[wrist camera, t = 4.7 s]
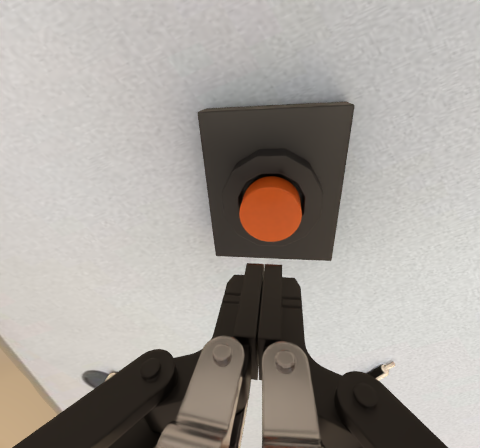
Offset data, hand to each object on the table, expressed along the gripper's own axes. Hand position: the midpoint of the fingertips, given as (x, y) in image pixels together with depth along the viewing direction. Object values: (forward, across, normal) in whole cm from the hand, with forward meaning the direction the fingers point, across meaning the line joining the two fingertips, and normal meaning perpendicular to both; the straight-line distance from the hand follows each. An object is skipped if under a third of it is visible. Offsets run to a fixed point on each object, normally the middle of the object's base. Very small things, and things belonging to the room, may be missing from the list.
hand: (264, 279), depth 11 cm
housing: (+12, 0, 0) cm, 12 cm away
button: (+8, 0, 0) cm, 8 cm away
